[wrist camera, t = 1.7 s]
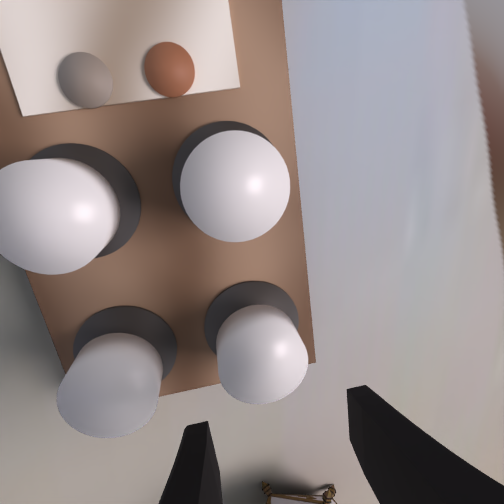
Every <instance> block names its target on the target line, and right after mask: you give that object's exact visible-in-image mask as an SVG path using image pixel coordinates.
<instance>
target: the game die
mask: <svg viewBox="0 0 504 504" xmlns="http://www.w3.org/2000/svg"><path fill="white" fill-rule="evenodd" d="M262 490H263V491H264V494H266V495H267V496H268V499H267V502H266V504H337V503H336V502H335V500H334V499H333V497H334V496H335V493H336V490H335V488H334V484H333V485H332V486H331V487H329V488H328V491H325V492H324V493H323V495H298V494H273V493H272V492H271V488H270V487H269V484H267V483H265V482H263V481H262Z"/></svg>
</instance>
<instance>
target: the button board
mask: <svg viewBox="0 0 504 504" xmlns="http://www.w3.org/2000/svg"><path fill="white" fill-rule="evenodd" d="M233 130H237V131H246V132H250V133H253V134H256V135H258V136H260V137H262V138H264V139H265V140H267V141H268V142H269V143H271V144H272V145H273V146H274V147H275V148H276V149H277V151H278V152H279V153H280V155H281V156H282V158H283V159H284V162H285V164H286V166H287V169H288V173H289V178H290V195H289V200H288V203H287V206H286V209H285V211H284V213H283V215H282V216H281V218H280V219H279V221H278V222H277V223H276V224H275V225H274V226H273V227H272V228H271V229H270V230H269V231H267V232H266V233H265V234H263V235H261V236H259V237H257V238H255V239H252V240H248V241H244V242H226V241H222V240H218V239H215V238H213V237H211V236H209V235H207V234H205V233H204V232H203V231H201V230H200V229H199V228H198V227H197V226H196V225H195V224H194V223H193V222H192V220H191V219H190V218H189V216H188V214H187V213H186V210H185V208H184V206H183V203H182V199H181V193H180V180H181V174H182V170H183V167H184V165H185V162H186V160H187V159H188V157H189V155H190V154H191V152H192V151H193V150H194V149H195V148H196V147H197V146H198V145H199V144H200V143H201V142H202V141H204V140H205V139H207V138H209V137H210V136H212V135H215V134H217V133H220V132H225V131H233ZM51 158H66V159H72V160H76V161H79V162H82V163H84V164H86V165H88V166H90V167H92V168H94V169H95V170H96V171H98V172H99V173H100V174H101V175H102V176H103V177H104V178H105V179H106V180H107V181H108V182H109V184H110V185H111V187H112V188H113V190H114V192H115V194H116V196H117V199H118V202H119V207H120V222H119V226H118V229H117V231H116V233H115V235H114V237H113V238H112V240H111V241H110V242H109V243H108V244H107V245H106V246H105V247H104V248H103V249H102V250H101V252H100V253H99V254H98V255H97V256H96V257H95V258H94V259H93V260H92V261H91V262H89V263H88V264H87V265H85V266H83V267H82V268H80V269H78V270H75V271H72V272H69V273H65V274H57V275H48V274H40V273H35V272H31V271H28V270H25V271H26V274H27V276H28V279H29V282H30V284H31V287H32V289H33V292H34V294H35V297H36V300H37V302H38V305H39V307H40V310H41V312H42V315H43V317H44V320H45V323H46V325H47V328H48V330H49V333H50V335H51V338H52V340H53V343H54V346H55V348H56V351H57V353H58V356H59V358H60V361H61V364H62V366H63V369H64V371H65V374H67V372H68V370H69V369H70V367H71V365H72V364H73V362H74V360H75V359H76V357H77V355H78V353H79V352H80V350H81V349H82V348H83V347H84V346H85V345H86V344H87V343H88V342H90V341H91V340H93V339H95V338H96V337H99V336H102V335H105V334H110V333H127V334H132V335H135V336H138V337H140V338H143V339H144V340H146V341H147V342H149V343H150V344H151V345H152V346H153V347H154V348H155V349H156V350H157V352H158V353H159V355H160V357H161V360H162V364H163V374H162V380H161V386H160V392H159V397H160V396H164V395H169V394H174V393H178V392H183V391H187V390H192V389H196V388H201V387H206V386H210V385H215V384H219V383H221V382H220V379H219V374H218V362H217V349H216V339H217V335H218V331H219V329H220V327H221V325H222V324H223V323H224V321H225V320H226V319H227V318H228V317H229V316H230V315H231V314H233V313H234V312H236V311H238V310H239V309H242V308H244V307H247V306H251V305H268V306H273V307H275V308H278V309H279V310H281V311H283V312H284V313H285V314H286V315H287V316H288V317H289V318H290V319H291V321H292V323H293V324H294V326H295V328H296V330H297V332H298V334H299V336H300V338H301V340H302V342H303V344H304V345H305V347H306V350H307V354H308V364H311V363H316V359H315V349H314V338H313V327H312V317H311V306H310V296H309V285H308V274H307V264H306V253H305V243H304V232H303V222H302V211H301V200H300V190H299V179H298V169H297V158H296V147H295V137H294V126H293V116H292V105H291V95H290V84H289V73H288V63H287V52H286V42H285V31H284V20H283V10H282V0H0V170H1V169H2V168H4V167H6V166H8V165H10V164H13V163H15V162H20V161H24V160H37V159H51Z"/></svg>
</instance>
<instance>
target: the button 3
mask: <svg viewBox="0 0 504 504" xmlns="http://www.w3.org/2000/svg"><path fill="white" fill-rule="evenodd" d="M180 193H181V199H182V203H183V206H184V208H185V210H186V213H187V214H188V216H189V218H190V219H191V220H192V222H193V223H194V224H195V225H196V226H197V227H198V228H199V229H200V230H201V231H203V232H204V233H205V234H207V235H209V236H211V237H213V238H215V239H218V240H222V241H226V242H244V241H248V240H252V239H255V238H257V237H259V236H261V235H263V234H265V233H266V232H267V231H269V230H270V229H271V228H272V227H273V226H274V225H275V224H276V223H277V222H278V221H279V219H280V218H281V216H282V215H283V213H284V211H285V209H286V206H287V203H288V200H289V195H290V178H289V173H288V169H287V166H286V164H285V162H284V159H283V158H282V156H281V155H280V153H279V152H278V151H277V149H276V148H275V147H274V146H273V145H272V144H271V143H269V142H268V141H267V140H265V139H264V138H262V137H260V136H258V135H256V134H253V133H250V132H246V131H237V130H233V131H225V132H220V133H217V134H215V135H212V136H210V137H209V138H207V139H205V140H204V141H202V142H201V143H200V144H199V145H198V146H197V147H196V148H195V149H194V150H193V151H192V152H191V154H190V155H189V157H188V159H187V160H186V162H185V165H184V167H183V170H182V174H181V180H180Z"/></svg>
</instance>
